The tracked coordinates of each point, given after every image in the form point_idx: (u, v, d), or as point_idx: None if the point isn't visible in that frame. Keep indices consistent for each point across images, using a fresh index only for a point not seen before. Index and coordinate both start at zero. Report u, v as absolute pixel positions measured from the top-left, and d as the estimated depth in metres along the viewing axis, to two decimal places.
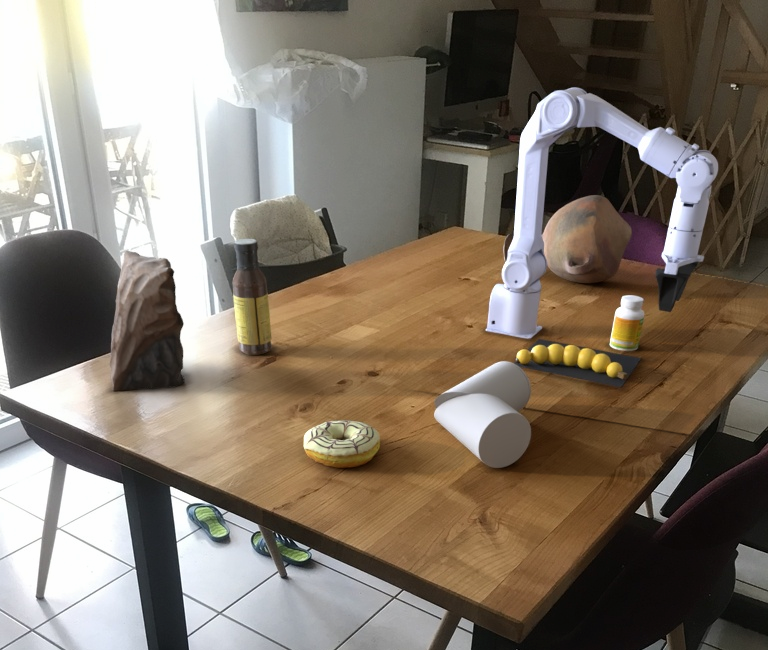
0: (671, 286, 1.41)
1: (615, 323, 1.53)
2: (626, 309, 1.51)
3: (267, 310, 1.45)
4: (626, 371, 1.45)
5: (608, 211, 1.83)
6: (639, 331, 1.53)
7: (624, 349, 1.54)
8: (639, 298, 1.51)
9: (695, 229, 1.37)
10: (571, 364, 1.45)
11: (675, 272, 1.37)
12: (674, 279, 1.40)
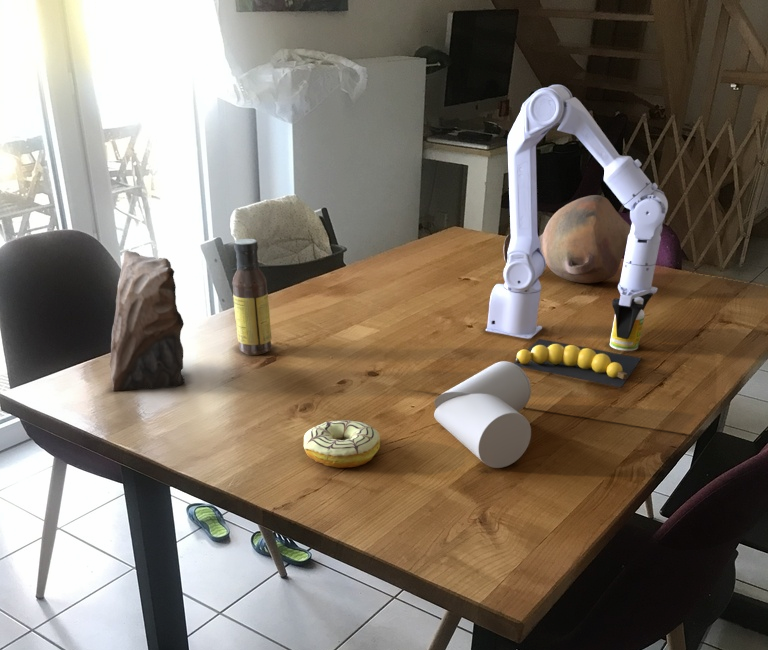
0: (627, 315, 1.50)
1: (615, 323, 1.53)
2: None
3: (267, 310, 1.45)
4: (626, 371, 1.45)
5: (608, 211, 1.83)
6: (639, 331, 1.53)
7: (624, 349, 1.54)
8: (639, 298, 1.51)
9: (649, 263, 1.45)
10: (571, 364, 1.45)
11: (629, 304, 1.45)
12: (630, 308, 1.49)
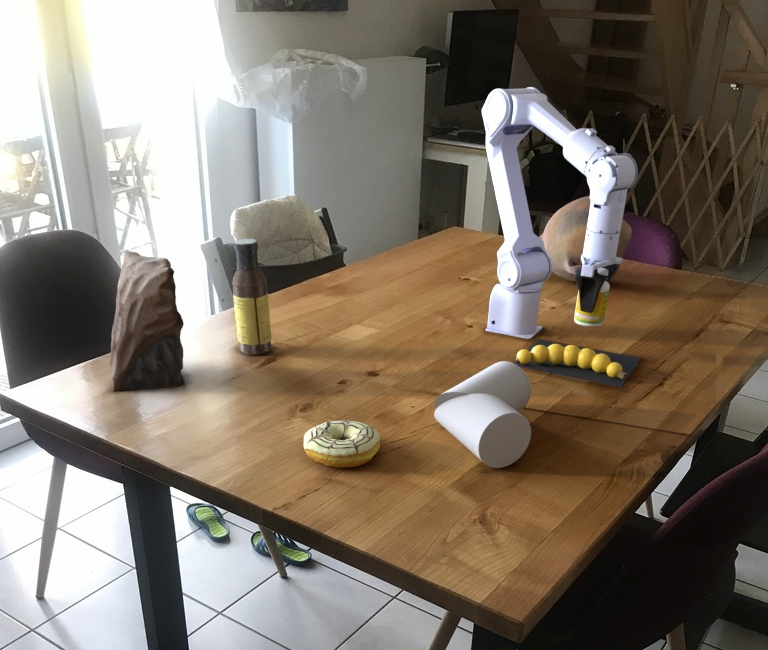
0: (591, 287, 1.42)
1: None
2: None
3: (267, 310, 1.45)
4: (626, 371, 1.45)
5: None
6: (604, 305, 1.45)
7: (589, 324, 1.46)
8: (604, 269, 1.43)
9: (604, 231, 1.37)
10: (571, 364, 1.45)
11: (591, 274, 1.37)
12: (593, 280, 1.41)
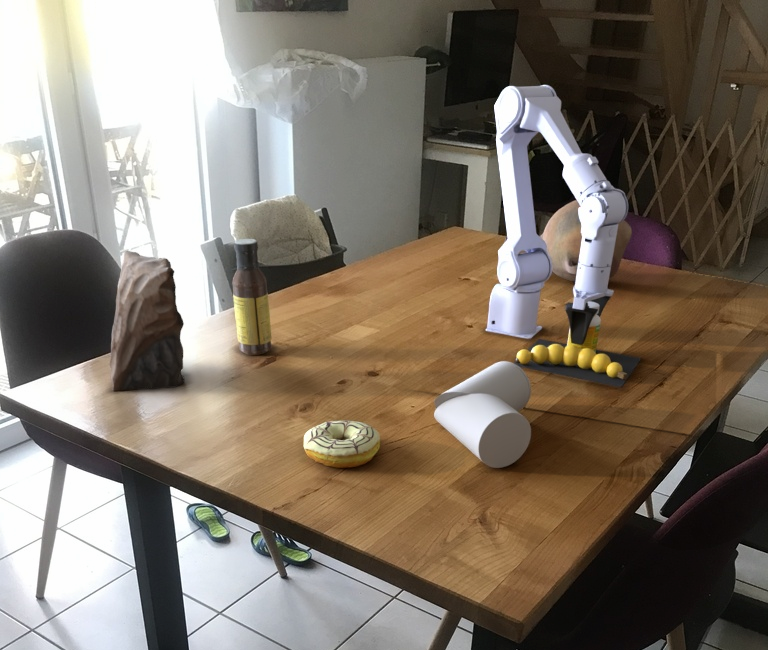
0: (581, 320, 1.44)
1: None
2: None
3: (267, 310, 1.45)
4: (626, 371, 1.45)
5: None
6: (595, 338, 1.48)
7: None
8: (595, 304, 1.46)
9: (595, 265, 1.40)
10: (571, 364, 1.45)
11: (582, 307, 1.40)
12: (584, 313, 1.43)
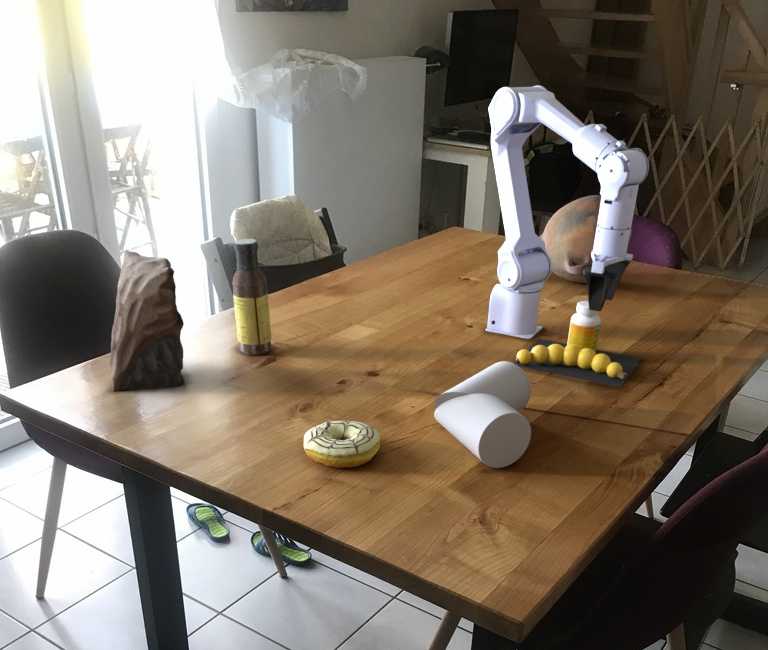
0: (600, 285, 1.39)
1: (571, 330, 1.48)
2: (582, 316, 1.46)
3: (267, 310, 1.45)
4: (626, 371, 1.45)
5: None
6: (595, 338, 1.48)
7: None
8: None
9: (615, 227, 1.35)
10: (571, 364, 1.45)
11: (602, 271, 1.35)
12: (602, 278, 1.39)
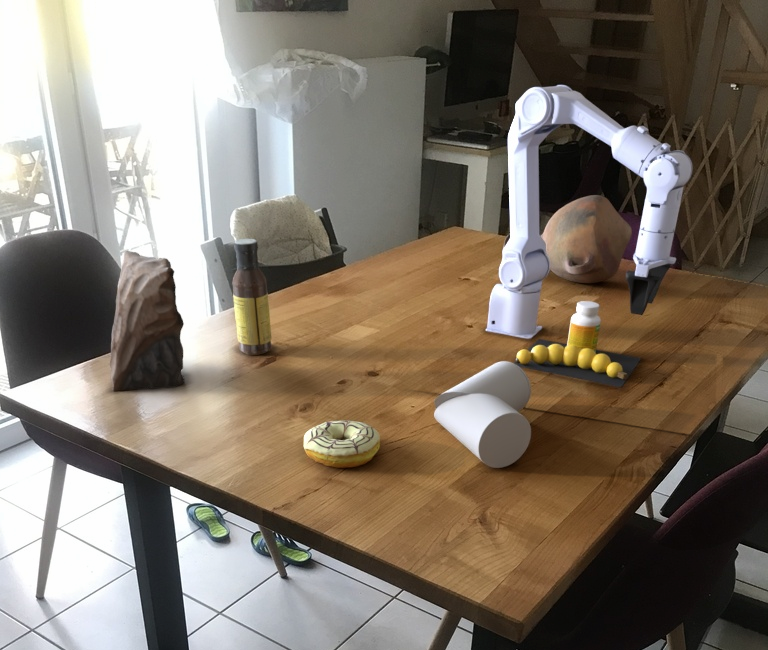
0: (642, 289, 1.38)
1: (571, 330, 1.48)
2: (582, 316, 1.46)
3: (267, 310, 1.45)
4: (626, 371, 1.45)
5: (608, 211, 1.83)
6: (595, 338, 1.48)
7: None
8: (595, 304, 1.46)
9: (662, 230, 1.34)
10: (571, 364, 1.45)
11: (645, 274, 1.34)
12: (645, 281, 1.38)
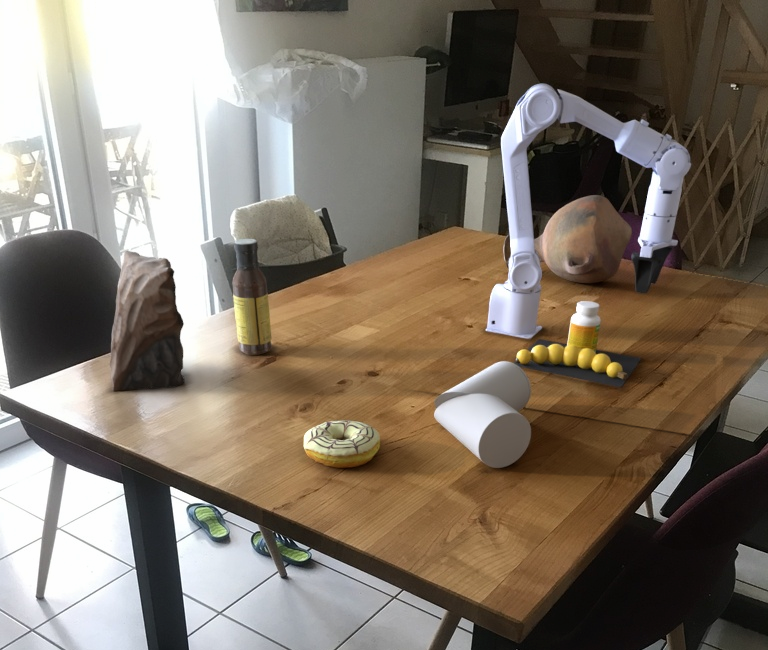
0: (647, 269, 1.49)
1: (571, 330, 1.48)
2: (582, 316, 1.46)
3: (267, 310, 1.45)
4: (626, 371, 1.45)
5: (608, 211, 1.83)
6: (595, 338, 1.48)
7: None
8: (595, 304, 1.46)
9: (673, 214, 1.46)
10: (571, 364, 1.45)
11: (650, 255, 1.45)
12: (649, 262, 1.49)
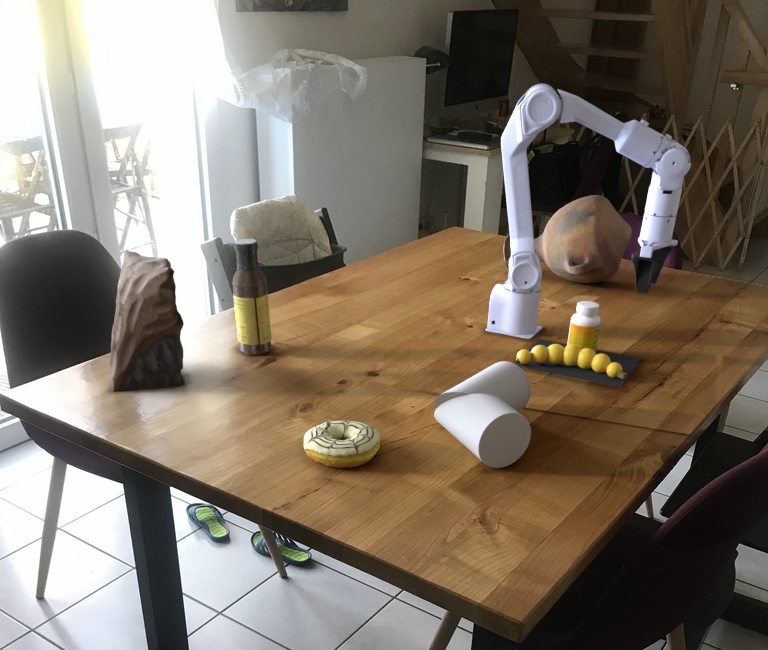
0: (647, 269, 1.49)
1: (571, 330, 1.48)
2: (582, 316, 1.46)
3: (267, 310, 1.45)
4: (626, 371, 1.45)
5: (608, 211, 1.83)
6: (595, 338, 1.48)
7: None
8: (595, 304, 1.46)
9: (673, 214, 1.46)
10: (571, 364, 1.45)
11: (650, 255, 1.45)
12: (649, 262, 1.49)
